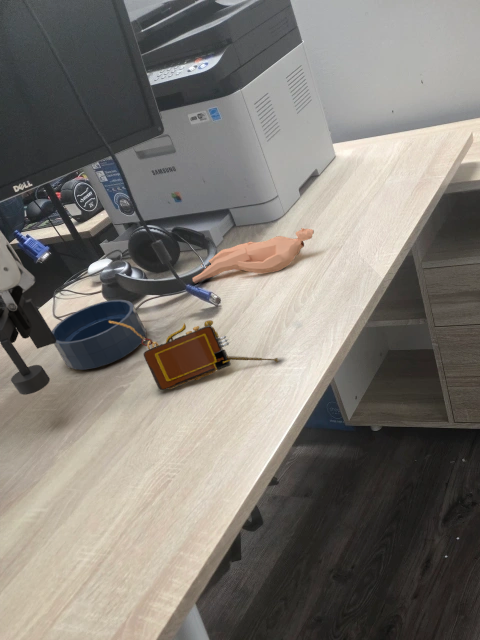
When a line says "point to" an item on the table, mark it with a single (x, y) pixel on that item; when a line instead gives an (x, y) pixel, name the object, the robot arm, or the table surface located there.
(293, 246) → the male figurine
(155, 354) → the brown box with rod
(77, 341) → the bowl
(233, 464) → the table surface
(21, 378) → the articulated desk lamp
